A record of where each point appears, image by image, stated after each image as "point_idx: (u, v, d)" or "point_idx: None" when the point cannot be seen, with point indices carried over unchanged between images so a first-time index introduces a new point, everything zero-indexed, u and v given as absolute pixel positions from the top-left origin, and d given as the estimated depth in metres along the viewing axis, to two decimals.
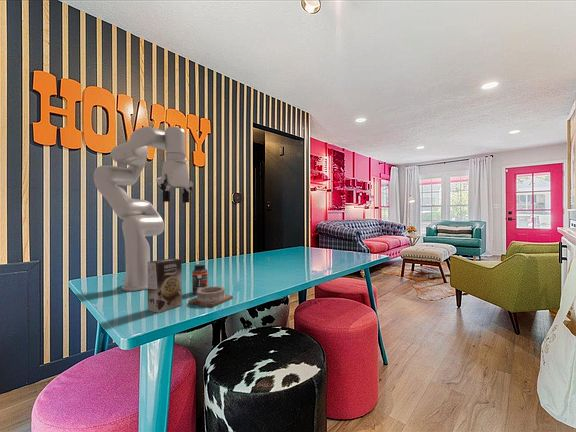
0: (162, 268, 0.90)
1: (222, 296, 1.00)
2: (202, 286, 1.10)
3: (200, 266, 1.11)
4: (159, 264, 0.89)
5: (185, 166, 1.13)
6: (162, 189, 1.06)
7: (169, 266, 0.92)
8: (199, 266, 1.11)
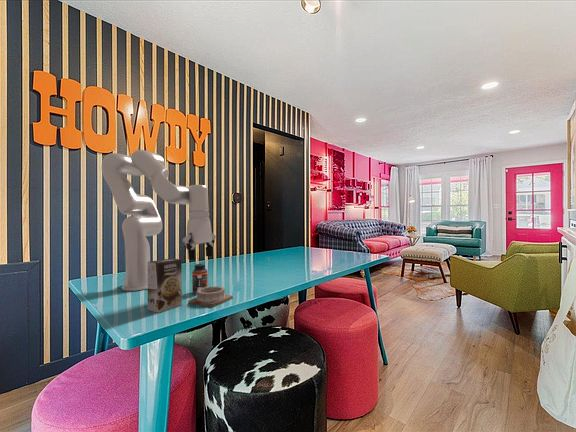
0: (162, 268, 0.90)
1: (222, 296, 1.00)
2: (202, 286, 1.10)
3: (200, 266, 1.11)
4: (159, 264, 0.89)
5: (208, 221, 1.14)
6: (188, 248, 1.07)
7: (169, 266, 0.92)
8: (199, 266, 1.11)
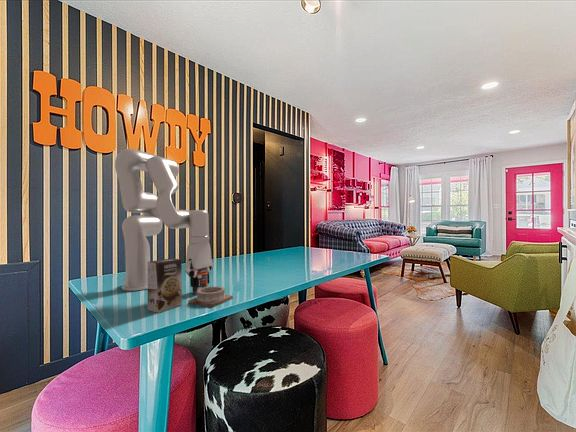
0: (162, 268, 0.90)
1: (222, 296, 1.00)
2: (202, 286, 1.10)
3: None
4: (159, 264, 0.89)
5: (208, 246, 1.14)
6: (190, 276, 1.09)
7: (169, 266, 0.92)
8: None
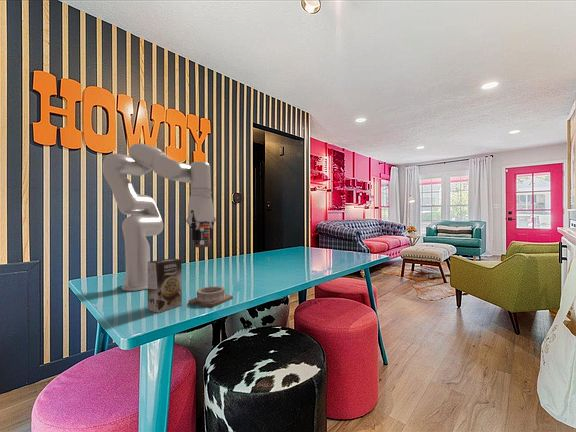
0: (162, 268, 0.90)
1: (222, 296, 1.00)
2: (204, 239, 1.07)
3: None
4: (159, 264, 0.89)
5: (210, 200, 1.11)
6: (192, 228, 1.06)
7: (169, 266, 0.92)
8: None
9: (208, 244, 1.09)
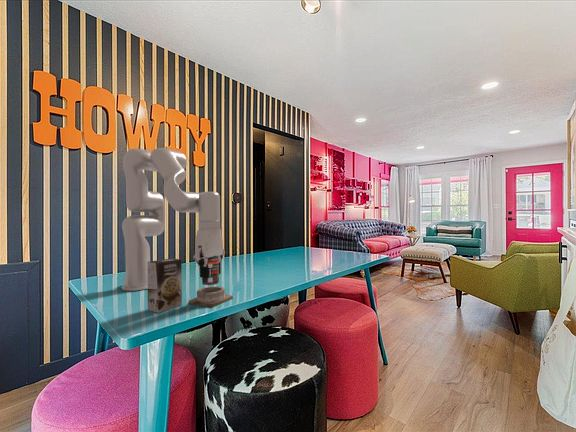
0: (162, 268, 0.90)
1: (222, 296, 1.00)
2: (213, 276, 0.99)
3: None
4: (159, 264, 0.89)
5: (219, 233, 1.03)
6: (200, 265, 0.97)
7: (169, 266, 0.92)
8: None
9: (217, 281, 1.00)
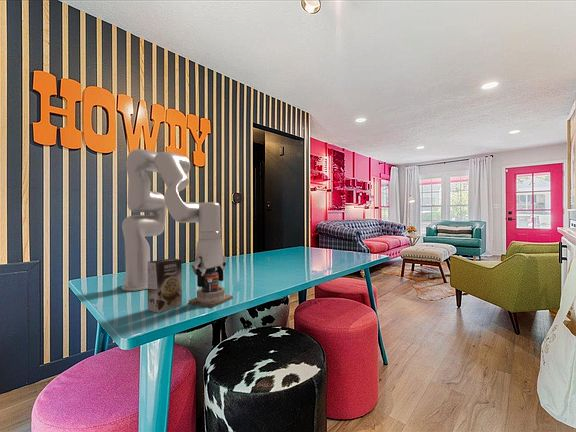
0: (162, 268, 0.90)
1: (222, 296, 1.00)
2: (213, 291, 0.99)
3: (210, 269, 1.00)
4: (159, 264, 0.89)
5: (220, 243, 1.03)
6: (197, 274, 0.96)
7: (169, 266, 0.92)
8: (209, 269, 0.99)
9: None
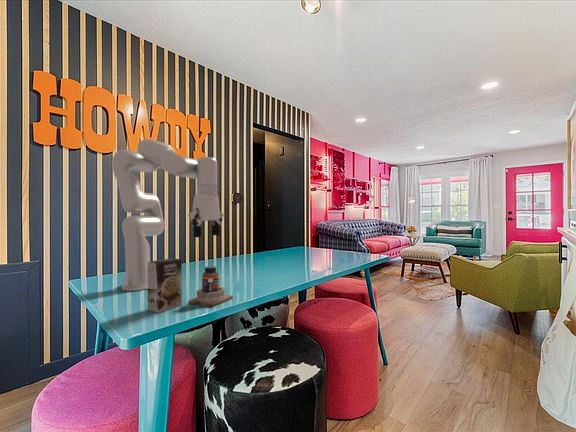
0: (162, 268, 0.90)
1: (222, 296, 1.00)
2: (213, 291, 0.99)
3: (211, 269, 1.00)
4: (159, 264, 0.89)
5: (217, 198, 1.06)
6: (193, 224, 0.99)
7: (169, 266, 0.92)
8: (210, 269, 1.00)
9: None
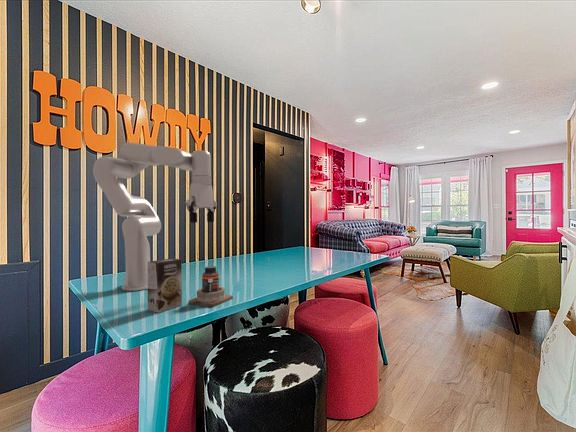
0: (162, 268, 0.90)
1: (222, 296, 1.00)
2: (213, 291, 0.99)
3: (211, 269, 1.00)
4: (159, 264, 0.89)
5: (210, 187, 1.17)
6: (190, 211, 1.10)
7: (169, 266, 0.92)
8: (210, 269, 0.99)
9: None
